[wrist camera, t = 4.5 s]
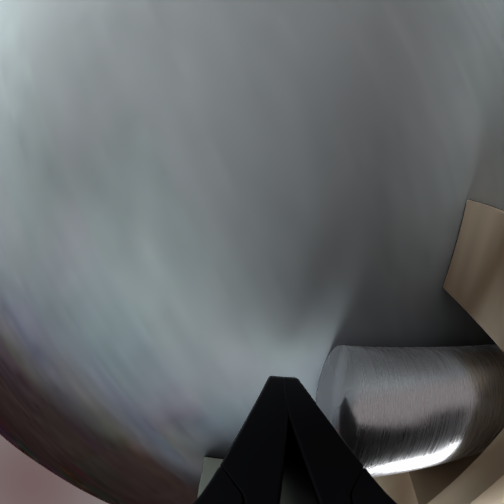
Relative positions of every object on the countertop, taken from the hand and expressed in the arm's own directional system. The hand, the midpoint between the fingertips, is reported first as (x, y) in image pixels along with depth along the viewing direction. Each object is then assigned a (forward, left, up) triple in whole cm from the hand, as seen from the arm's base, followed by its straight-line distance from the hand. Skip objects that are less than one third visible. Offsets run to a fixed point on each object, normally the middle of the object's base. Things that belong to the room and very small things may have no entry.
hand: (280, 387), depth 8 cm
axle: (0, -10, -1) cm, 10 cm away
